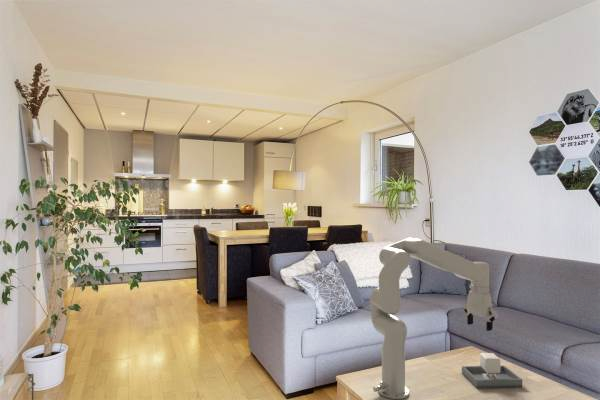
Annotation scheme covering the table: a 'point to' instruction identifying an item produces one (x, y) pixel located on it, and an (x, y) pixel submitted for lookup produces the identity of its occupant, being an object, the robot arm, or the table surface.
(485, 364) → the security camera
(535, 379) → the table surface
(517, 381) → the parts tray
